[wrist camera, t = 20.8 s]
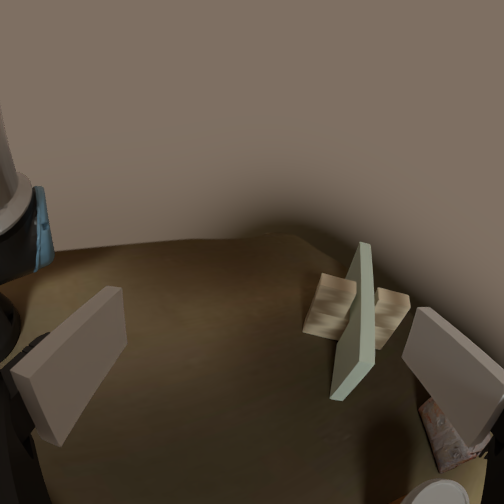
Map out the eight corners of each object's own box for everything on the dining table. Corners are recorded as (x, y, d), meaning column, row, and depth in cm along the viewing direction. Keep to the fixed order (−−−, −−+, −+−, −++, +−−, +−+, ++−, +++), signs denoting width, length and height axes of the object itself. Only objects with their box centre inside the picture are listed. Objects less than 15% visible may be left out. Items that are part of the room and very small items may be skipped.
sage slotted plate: (342, 401, 36) (374, 364, 29) (329, 398, 37) (359, 361, 30) (351, 289, 55) (370, 244, 48) (341, 286, 55) (359, 241, 48)
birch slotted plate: (302, 332, 46) (320, 284, 39) (304, 320, 48) (321, 273, 41) (380, 349, 44) (410, 307, 37) (380, 338, 46) (408, 295, 39)
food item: (409, 405, 35) (445, 374, 29) (443, 392, 37) (478, 361, 30) (433, 478, 25) (478, 459, 19) (467, 458, 26) (509, 435, 20)
